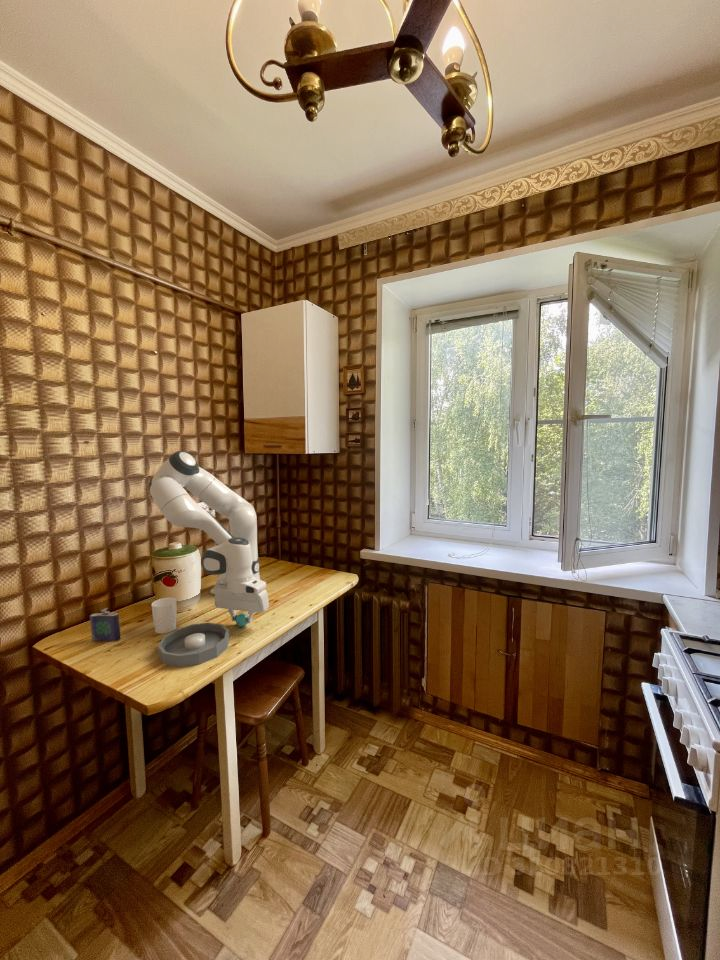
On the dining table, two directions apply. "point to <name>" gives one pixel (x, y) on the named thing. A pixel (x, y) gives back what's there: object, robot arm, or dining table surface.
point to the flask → (105, 626)
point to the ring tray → (193, 644)
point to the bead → (241, 619)
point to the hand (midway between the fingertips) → (242, 621)
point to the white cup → (164, 615)
